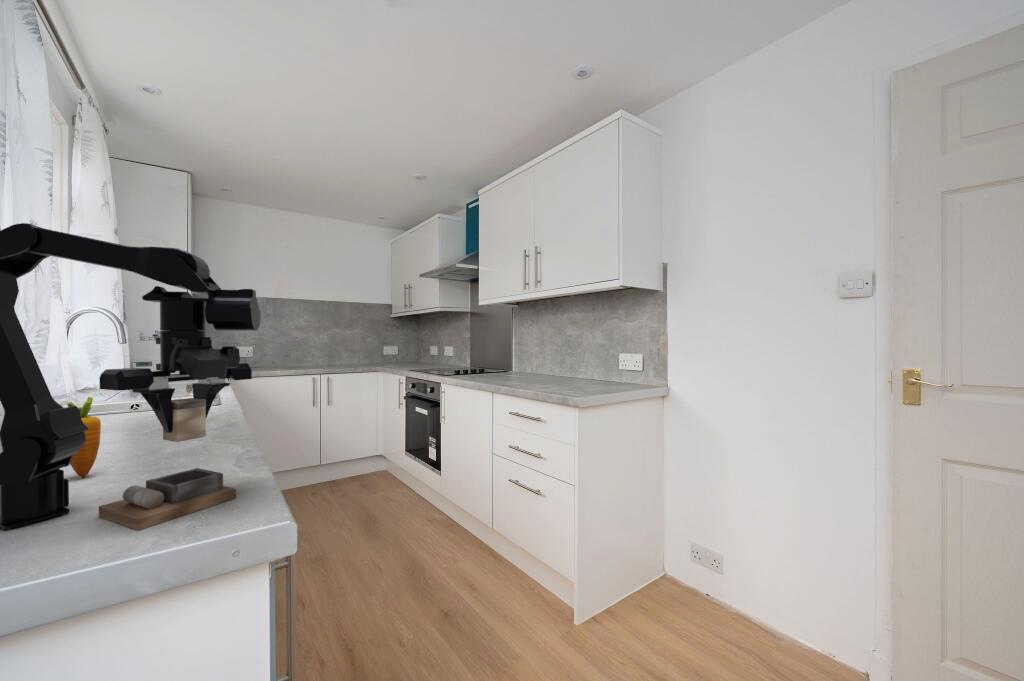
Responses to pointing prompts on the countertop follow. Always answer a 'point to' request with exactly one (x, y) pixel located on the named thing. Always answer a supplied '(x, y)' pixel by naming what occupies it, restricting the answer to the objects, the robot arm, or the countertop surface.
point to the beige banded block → (187, 420)
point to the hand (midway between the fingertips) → (184, 429)
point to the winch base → (168, 498)
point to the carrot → (87, 441)
